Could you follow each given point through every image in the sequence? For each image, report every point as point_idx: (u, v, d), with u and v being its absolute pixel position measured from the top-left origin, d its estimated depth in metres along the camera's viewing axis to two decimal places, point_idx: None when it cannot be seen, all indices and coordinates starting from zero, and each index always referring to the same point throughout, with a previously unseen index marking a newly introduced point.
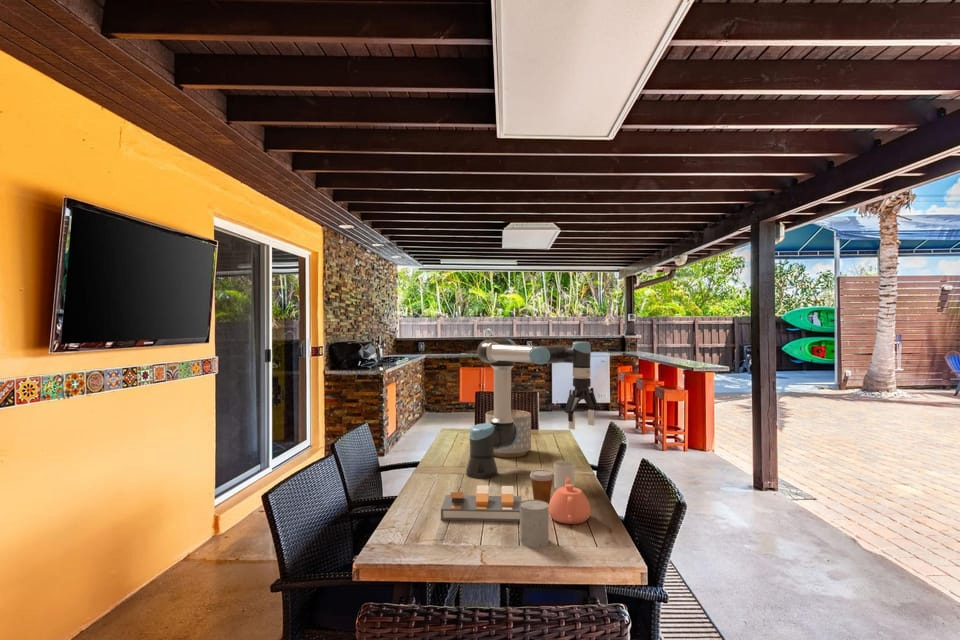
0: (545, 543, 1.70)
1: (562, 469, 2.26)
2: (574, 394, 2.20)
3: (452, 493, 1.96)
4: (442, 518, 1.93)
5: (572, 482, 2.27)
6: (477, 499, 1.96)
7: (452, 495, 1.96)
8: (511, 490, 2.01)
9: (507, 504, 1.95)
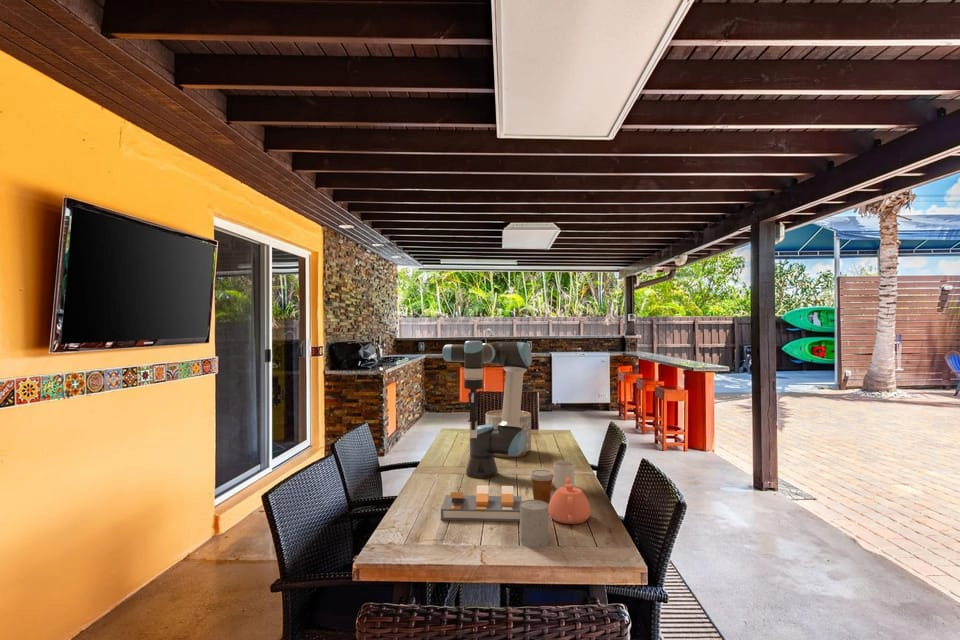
0: (545, 543, 1.70)
1: (562, 469, 2.26)
2: None
3: (452, 493, 1.96)
4: (442, 518, 1.93)
5: (572, 482, 2.27)
6: (477, 499, 1.96)
7: (452, 495, 1.96)
8: (511, 490, 2.01)
9: (507, 504, 1.95)
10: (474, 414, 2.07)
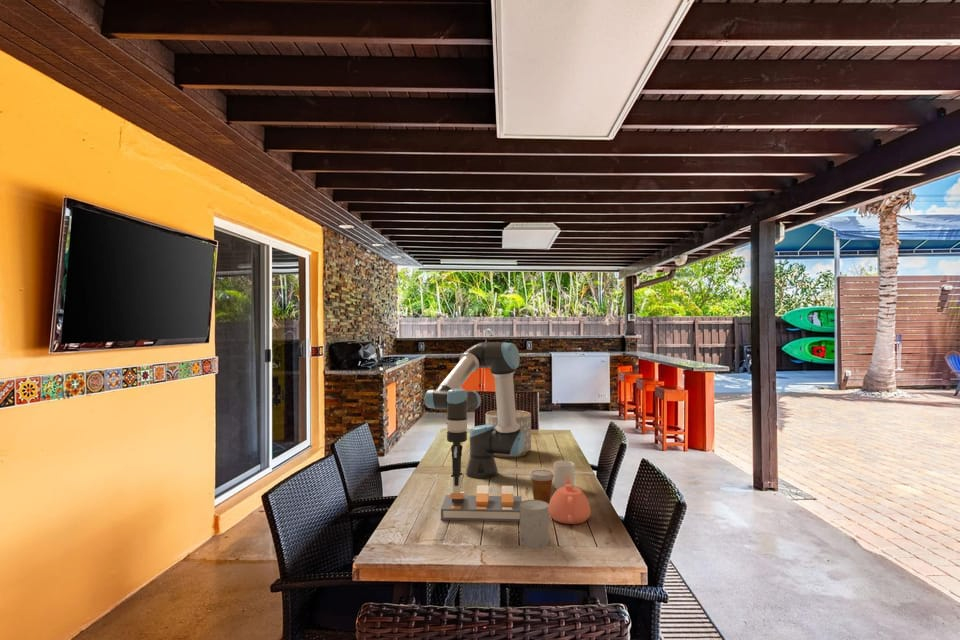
0: (545, 543, 1.70)
1: (562, 469, 2.26)
2: None
3: (452, 494, 1.96)
4: (442, 518, 1.93)
5: (572, 482, 2.27)
6: (477, 499, 1.96)
7: (452, 496, 1.96)
8: (511, 490, 2.01)
9: (507, 504, 1.95)
10: (457, 470, 1.93)
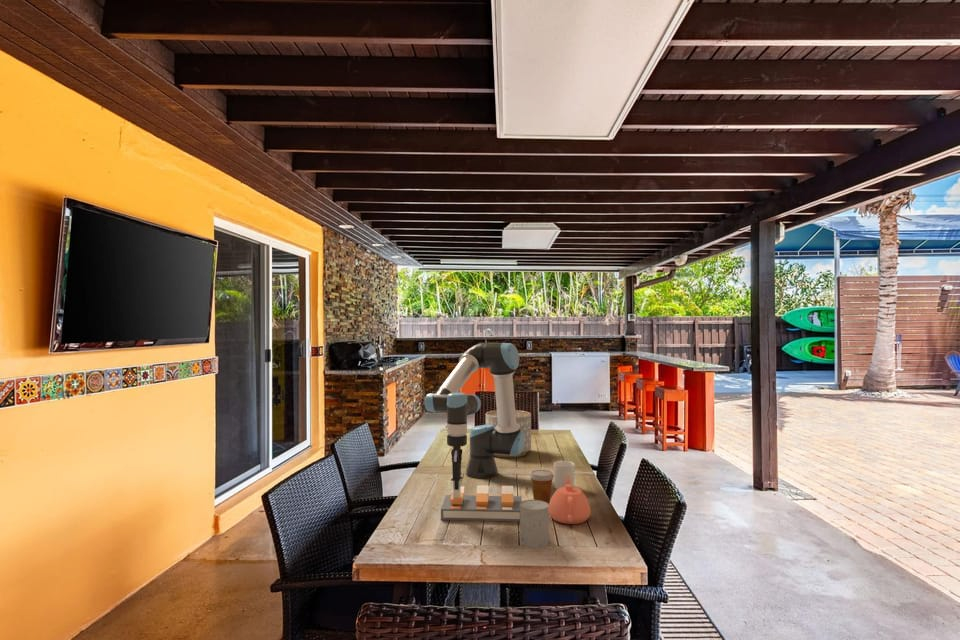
0: (545, 543, 1.70)
1: (562, 469, 2.26)
2: None
3: (452, 500, 1.96)
4: (442, 518, 1.93)
5: (572, 482, 2.27)
6: (477, 499, 1.96)
7: (452, 502, 1.96)
8: (511, 490, 2.01)
9: (507, 504, 1.95)
10: (457, 474, 1.93)
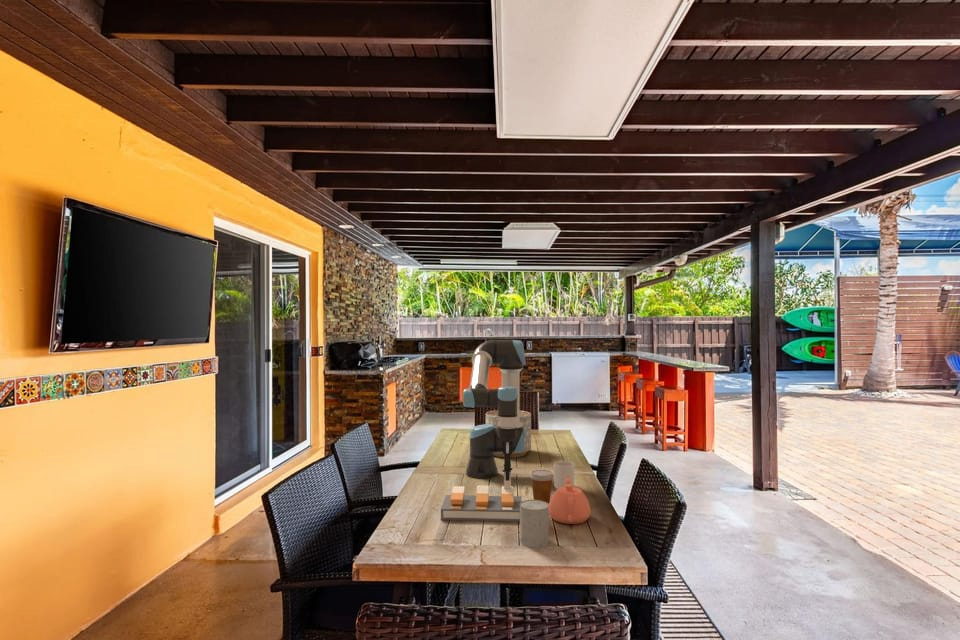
0: (545, 543, 1.70)
1: (562, 469, 2.26)
2: None
3: (452, 500, 1.96)
4: (442, 518, 1.93)
5: (572, 482, 2.27)
6: (477, 499, 1.96)
7: (452, 502, 1.96)
8: (511, 490, 2.01)
9: (507, 504, 1.95)
10: (509, 465, 1.99)
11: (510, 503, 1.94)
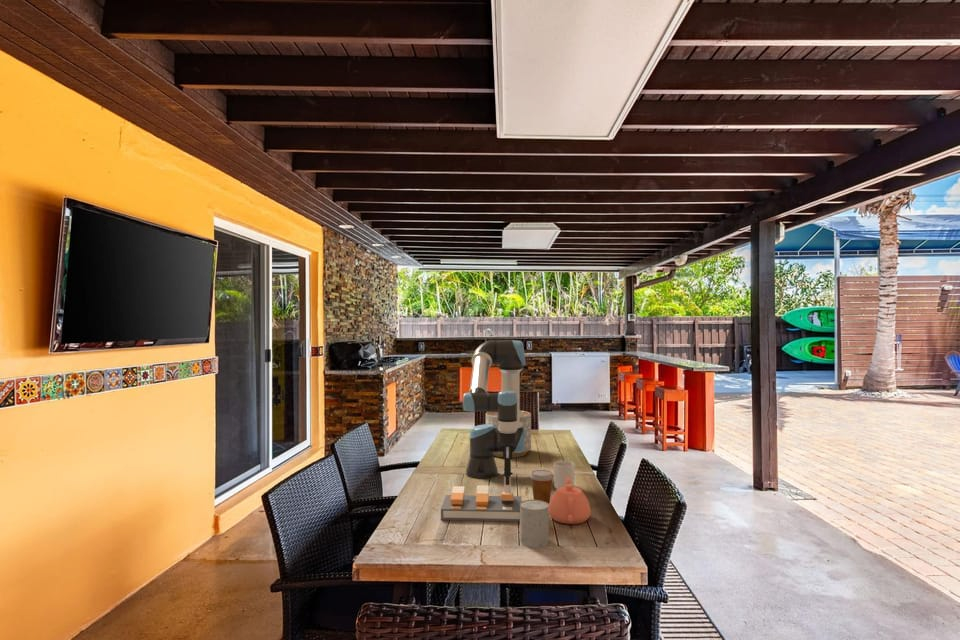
0: (545, 543, 1.70)
1: (562, 469, 2.26)
2: None
3: (452, 500, 1.96)
4: (442, 518, 1.93)
5: (572, 482, 2.27)
6: (477, 499, 1.96)
7: (452, 502, 1.96)
8: (511, 492, 2.02)
9: (507, 497, 1.95)
10: (509, 469, 1.99)
11: (510, 496, 1.95)
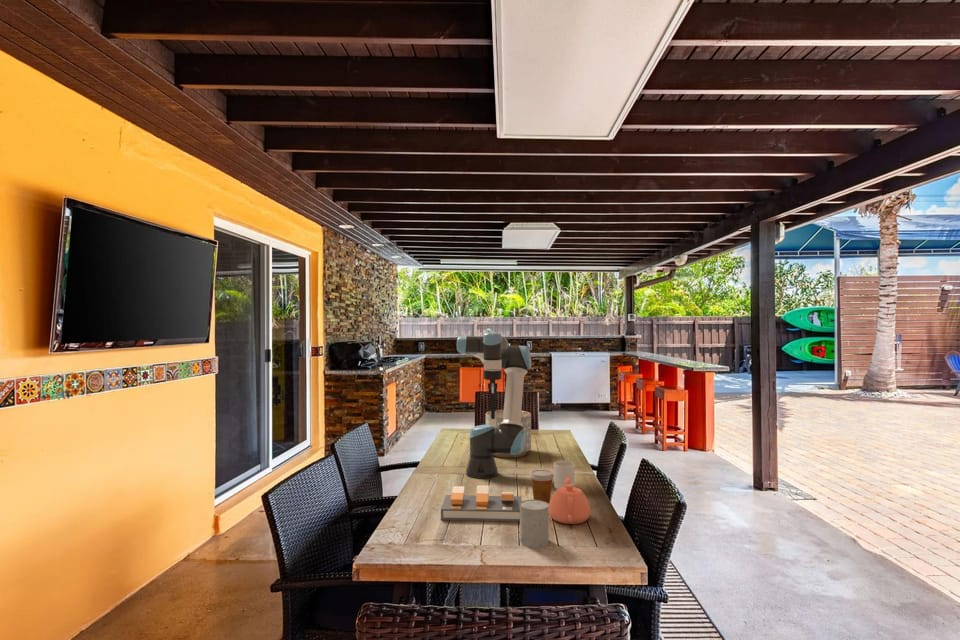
0: (545, 543, 1.70)
1: (562, 469, 2.26)
2: None
3: (452, 500, 1.96)
4: (442, 518, 1.93)
5: (572, 482, 2.27)
6: (477, 499, 1.96)
7: (452, 502, 1.96)
8: (511, 492, 2.02)
9: (507, 497, 1.95)
10: (494, 404, 2.15)
11: (510, 496, 1.95)
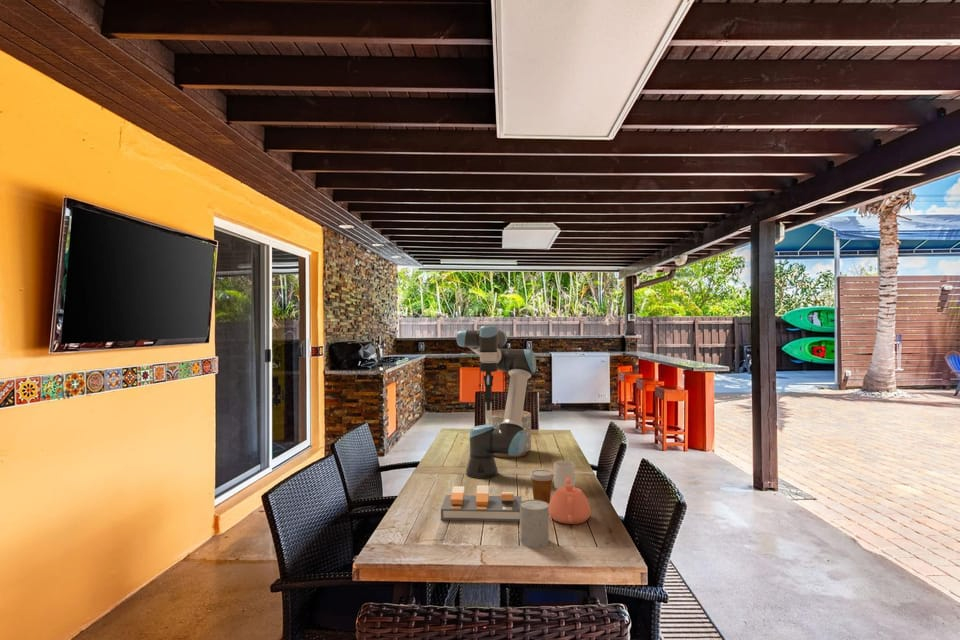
0: (545, 543, 1.70)
1: (562, 469, 2.26)
2: None
3: (452, 500, 1.96)
4: (442, 518, 1.93)
5: (572, 482, 2.27)
6: (477, 499, 1.96)
7: (452, 502, 1.96)
8: (511, 492, 2.02)
9: (507, 497, 1.95)
10: (489, 395, 2.19)
11: (510, 496, 1.95)
